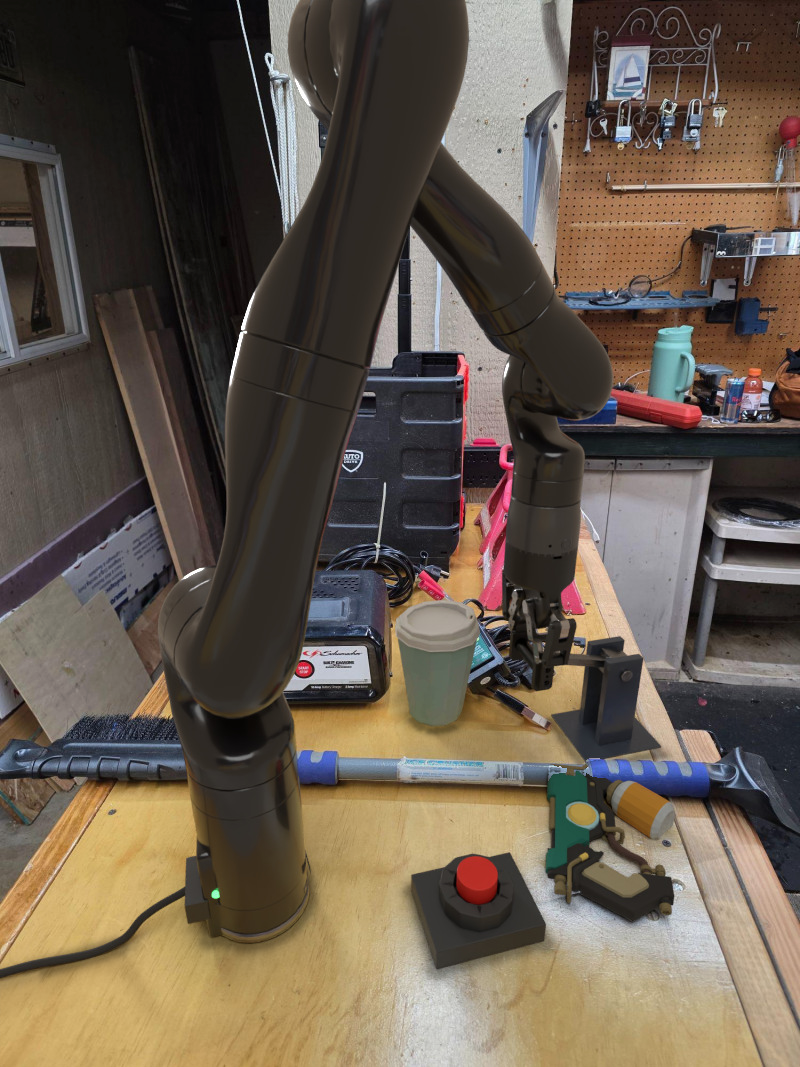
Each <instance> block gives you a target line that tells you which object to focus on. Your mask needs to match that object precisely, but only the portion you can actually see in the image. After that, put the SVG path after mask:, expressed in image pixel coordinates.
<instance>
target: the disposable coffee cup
mask: <svg viewBox="0 0 800 1067" xmlns="http://www.w3.org/2000/svg"><path fill="white" fill-rule="evenodd" d="M394 631H395V637H396V638H397V642H398V648H399V649H398V650H399V654H400V661H401V667H402V673H403V679H404V685H405V692H406V697H407V703H408V710H409V716H411V717H412V718H413V719H414V720H415V721H416V722H417V723H420V724H422V725H426V726H429V727H444V726H447V725H449V724H451V723H454V722H456V721H457V720H458V719H459V717H460V716H461V714H462V712H463V708H464V703H465V698H466V693H467V690H468V689H467V688H468V685H469V684H468V683H469V679H470V674H471V671H472V665H473V660H474V656H475V650H476V646H477V641H478V638H479V637H480V634H481V630H480V624H479V621H478V617H477V616H476V612H475V610H474V608H473V607H471V606H469V605H467V604H465V603H463V602H462V601H454V600H447V599H440V600H438V599H437V600H428V601H422V602H420V603H417V604H414V605H411V606H408V608H406V609H405V610H404V611H403V612H402V613H401V614H400V615H399V616H398V617H397V618H396V619H395V625H394Z"/></svg>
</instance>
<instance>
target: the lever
mask: <svg viewBox="0 0 800 1067" xmlns="http://www.w3.org/2000/svg"><path fill="white" fill-rule="evenodd" d="M515 648H516V650H517V651H518V652H519V654H520V655H521V656H522V657H523V659H524V660H523V661H524V662H525V663H526V664H527V666H528V667H529V668H530V669H531V670H533V660H534V652H533V644H532V643H531V642H530V643H529V642H528V640H527V639H525V638H520V639H518V640H517V641H516V643H515ZM628 655H629V654H626V652H625V651H624V650H623V651H622V650H620V649H606V648H602V649H601V652H600V655H599V656H598V655H586V654H585V653H583V654H582V653H570V656H569V661H568V664H567V665H566V666H574V667H585V666H588V667H598V668H599V669H600V670H601V672H602V673H604V665H605V659H610V658H616V657H622V656H628Z"/></svg>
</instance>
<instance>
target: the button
mask: <svg viewBox="0 0 800 1067" xmlns="http://www.w3.org/2000/svg"><path fill="white" fill-rule="evenodd" d="M497 880H498V872H497V869H496V867H495V866H494V864H493V863H492V862H491V861H489V860H488V859H486V858H483V857H479V856H472V857H468V858H466V859H464V860H463V861H462V862H461V863H460V864H459V866H458V868H457V891H458V893H459V895H460V896H461V897H462V898H463V899H464V900H466V901H467V902H469V903H472V904H485V903H488V902H489V901H491V900H492V899H493V898H494V897H495V895H496V892H497Z"/></svg>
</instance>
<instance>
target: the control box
mask: <svg viewBox="0 0 800 1067" xmlns="http://www.w3.org/2000/svg"><path fill="white" fill-rule="evenodd" d="M472 856H479V857H483V858H486V859H488V860H489V861H491V862H492V863H493V864H494V866H495V867H496V869H497V872H498V880H497V892H496V895H495V897H494V898H493V899H492V900H491V901H489V902H488V903H485V904H472V903H469V902H467V901H466V900H464V899H463V898H462V897H461V896H460V895H459V893H458V891H457V868H458V866H459V864H460V863H461V862H462V861H463V860H464V859H466V858H468V857H472ZM410 892H411V895H412V898H413V901H414V905H415V908H416V910H417V914H418V917H419V920H420V924H421V927H422V929H423V933H424V936H425V938H426V942H427V945H428V948H429V951H430V955H431V957H432V960H433V963H434V967H435V969H436V970H440V969H444V968H448V967H451V966H454V965H459V964H463V963H466V962H470V961H474V960H478V959H481V958H485V957H489V956H493V955H496V954H500V953H504V952H509V951H512V950H516V949H520V948H523V947H527V946H531V945H535V944H538V943H542V942H545V940H546V939H545V938H546V929H547V922H546V921H545V919H544V916H543V915H542V913H541V911H540V909H539V907H538V905H537V904H536V901H535V899H534V897H533V895H532V893H531V891H530V889H529V887H528V885H527V883H526V881H525V879H524V877H523V875H522V873H521V871H520V870H519V868H518V865H517V864H516V861H515V859H514V857H513V856H512V853H511V852H510V851H509V852H505V853H504V852H503V853H499V854H495V855H491V856H488V855H483V854H479V853H478V854H477V853H468V854H465V855H461V856H456V857H454V858H453V859H452V860H451V861H450V862H448V864H446V865H445V866H444V867H443V866H442V867H437V868H434V869H430V870H426V871H421V872H417V873H413V874H411V875H410Z"/></svg>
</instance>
